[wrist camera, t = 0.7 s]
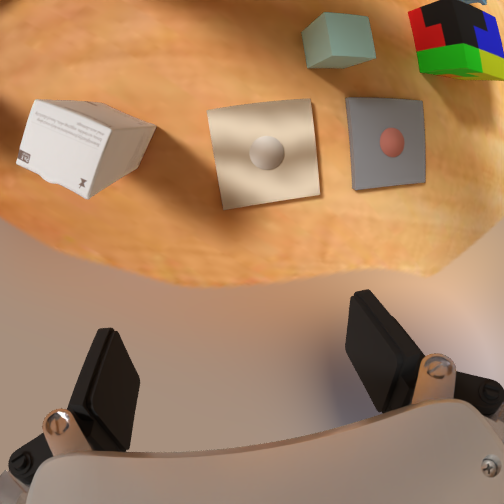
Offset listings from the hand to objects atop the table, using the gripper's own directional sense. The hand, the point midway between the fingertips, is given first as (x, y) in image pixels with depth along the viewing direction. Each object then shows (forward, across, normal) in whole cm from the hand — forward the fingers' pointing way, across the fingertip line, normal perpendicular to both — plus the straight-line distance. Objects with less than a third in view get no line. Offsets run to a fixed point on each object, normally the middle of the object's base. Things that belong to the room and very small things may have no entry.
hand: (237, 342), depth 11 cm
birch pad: (+26, -6, -4) cm, 27 cm away
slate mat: (+26, -23, -5) cm, 35 cm away
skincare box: (+27, +11, -9) cm, 30 cm away
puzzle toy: (+27, -34, -21) cm, 48 cm away
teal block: (+27, -14, -17) cm, 35 cm away
